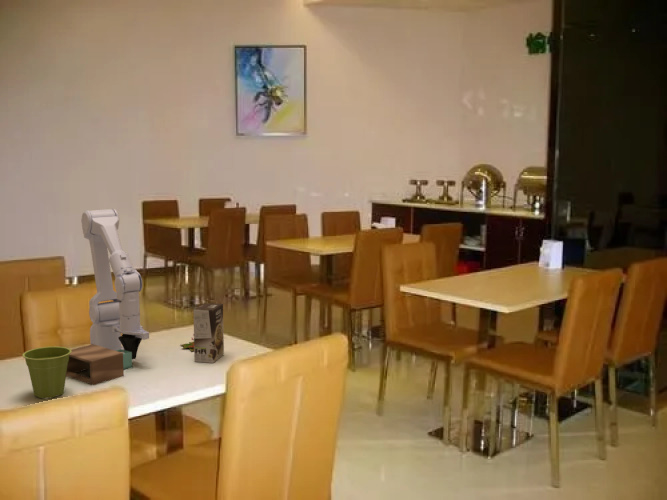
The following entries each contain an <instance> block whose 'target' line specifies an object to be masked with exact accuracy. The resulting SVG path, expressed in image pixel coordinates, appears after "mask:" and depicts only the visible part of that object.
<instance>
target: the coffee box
mask: <svg viewBox="0 0 667 500" xmlns="http://www.w3.org/2000/svg"><path fill="white" fill-rule="evenodd" d="M193 334H194V335H193V339H194V341H193V342H194V347H193V348H194V351H193V352H194V356H193V359H194V362H197V363H206V364H207V363H209V364H214V363H215V362H216V361H218V360H219V359H220V358H222V357H223V356H222V355H223V354H225V346H224V344H225V343H224V341H225V340H224V339H225V338H224V304H223V303H212V302H211V303H206V302H205V303H204V302H203V304H201V305H199V306H197V307H195V308H194V309H193Z"/></svg>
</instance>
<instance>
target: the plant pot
mask: <svg viewBox="0 0 667 500" xmlns="http://www.w3.org/2000/svg"><path fill="white" fill-rule="evenodd" d="M71 352H72V349H71V348H68V347H65V346H41V347H37V348H32V349H29V350H26V351H24V352H23V353H22V357H23V359H25V363H26V366H27V368H28V374H29V377H30V378H29V379H30V382H31V387H32V390H33V394H34V397H37V398H39V399H53V398H55V397H56V396H62V395H63V394H64V393H65V388H66V387H65V386H66V377H67V376H66V371H67V364H68V361H69V355H70V354H71Z"/></svg>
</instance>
